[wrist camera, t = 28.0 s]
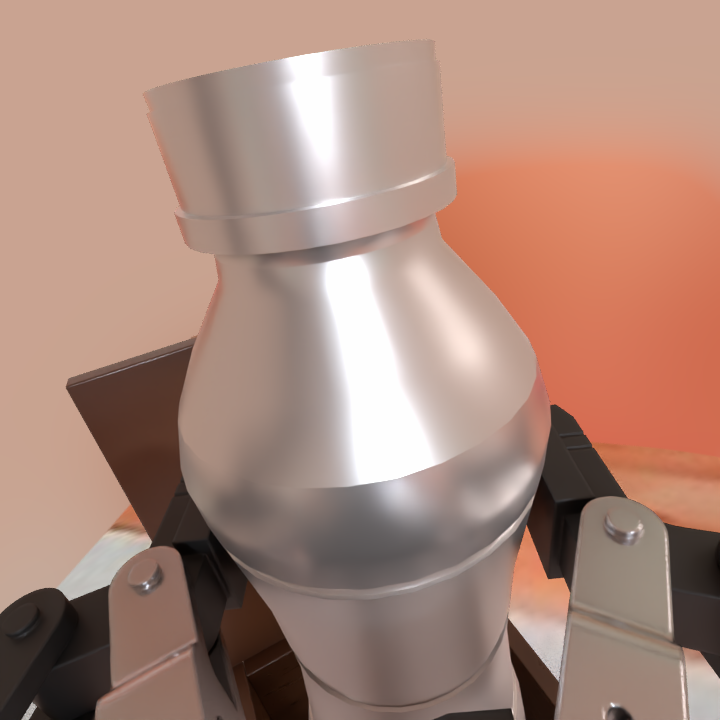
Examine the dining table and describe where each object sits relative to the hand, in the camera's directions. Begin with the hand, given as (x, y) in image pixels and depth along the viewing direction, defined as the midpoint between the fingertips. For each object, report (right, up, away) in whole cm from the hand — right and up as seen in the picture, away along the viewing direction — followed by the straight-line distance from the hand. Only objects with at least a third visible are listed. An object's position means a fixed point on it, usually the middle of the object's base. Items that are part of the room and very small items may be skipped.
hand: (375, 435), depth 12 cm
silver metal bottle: (+2, -12, +4) cm, 12 cm away
